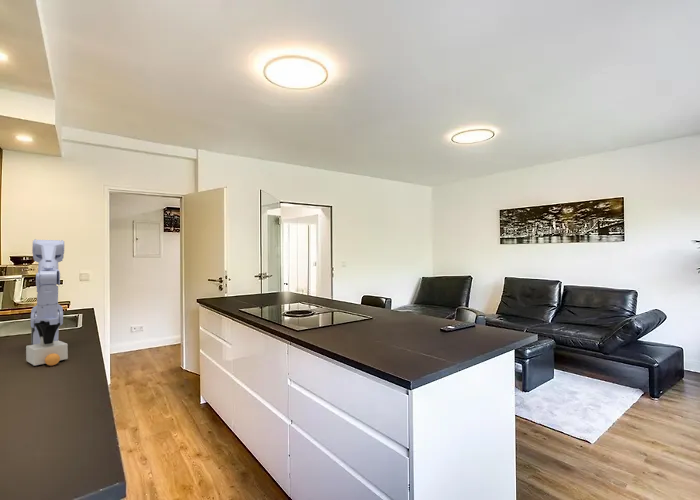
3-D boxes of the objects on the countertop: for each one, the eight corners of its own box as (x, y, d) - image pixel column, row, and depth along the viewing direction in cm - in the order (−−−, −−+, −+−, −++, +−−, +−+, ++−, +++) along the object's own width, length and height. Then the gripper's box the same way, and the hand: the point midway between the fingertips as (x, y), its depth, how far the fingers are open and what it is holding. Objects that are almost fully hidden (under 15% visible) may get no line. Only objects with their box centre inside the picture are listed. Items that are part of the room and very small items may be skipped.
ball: (44, 352, 121) (47, 359, 119) (58, 349, 124) (62, 356, 122) (42, 362, 122) (45, 369, 120) (57, 359, 125) (60, 366, 123)
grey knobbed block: (26, 360, 125) (26, 337, 125) (58, 354, 133) (58, 332, 133) (34, 365, 120) (34, 340, 120) (67, 358, 127) (67, 335, 127)
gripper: (26, 303, 127) (25, 342, 127) (39, 307, 119) (38, 348, 119) (51, 301, 133) (50, 338, 133) (65, 305, 125) (64, 344, 124)
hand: (46, 342), depth 126 cm, fingers closed on grey knobbed block, 3 cm apart
